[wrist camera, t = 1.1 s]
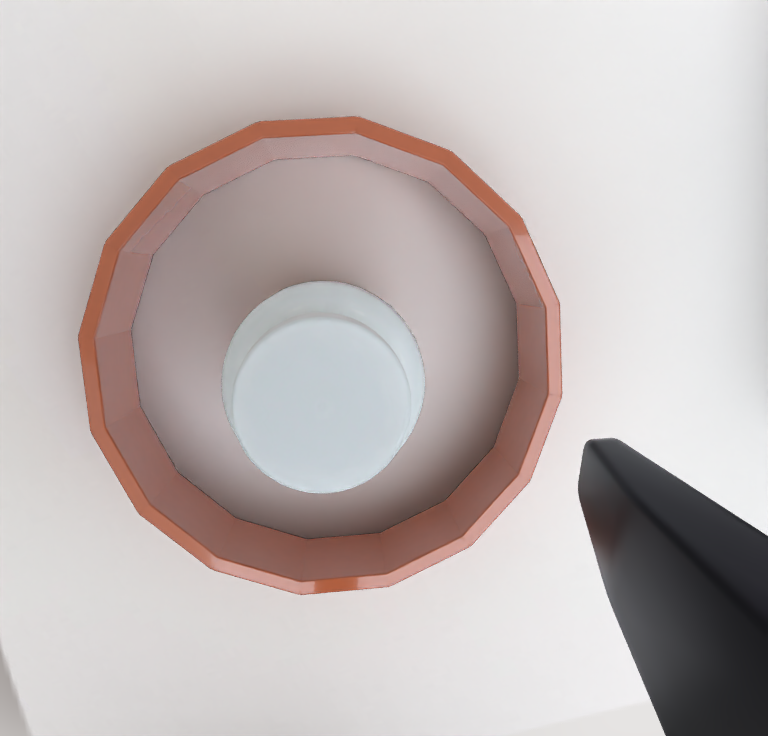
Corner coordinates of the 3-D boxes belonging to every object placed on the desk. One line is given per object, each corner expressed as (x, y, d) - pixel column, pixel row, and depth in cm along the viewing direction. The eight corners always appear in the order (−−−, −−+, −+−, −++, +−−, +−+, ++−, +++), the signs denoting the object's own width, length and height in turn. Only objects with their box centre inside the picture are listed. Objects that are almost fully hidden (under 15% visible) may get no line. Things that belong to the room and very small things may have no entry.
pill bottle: (328, 455, 24) (319, 573, 14) (224, 353, 23) (140, 406, 14) (432, 355, 24) (493, 406, 14) (330, 249, 23) (321, 227, 13)
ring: (536, 530, 25) (567, 571, 22) (146, 565, 24) (113, 612, 21) (523, 131, 23) (555, 105, 20) (95, 154, 22) (50, 131, 19)
